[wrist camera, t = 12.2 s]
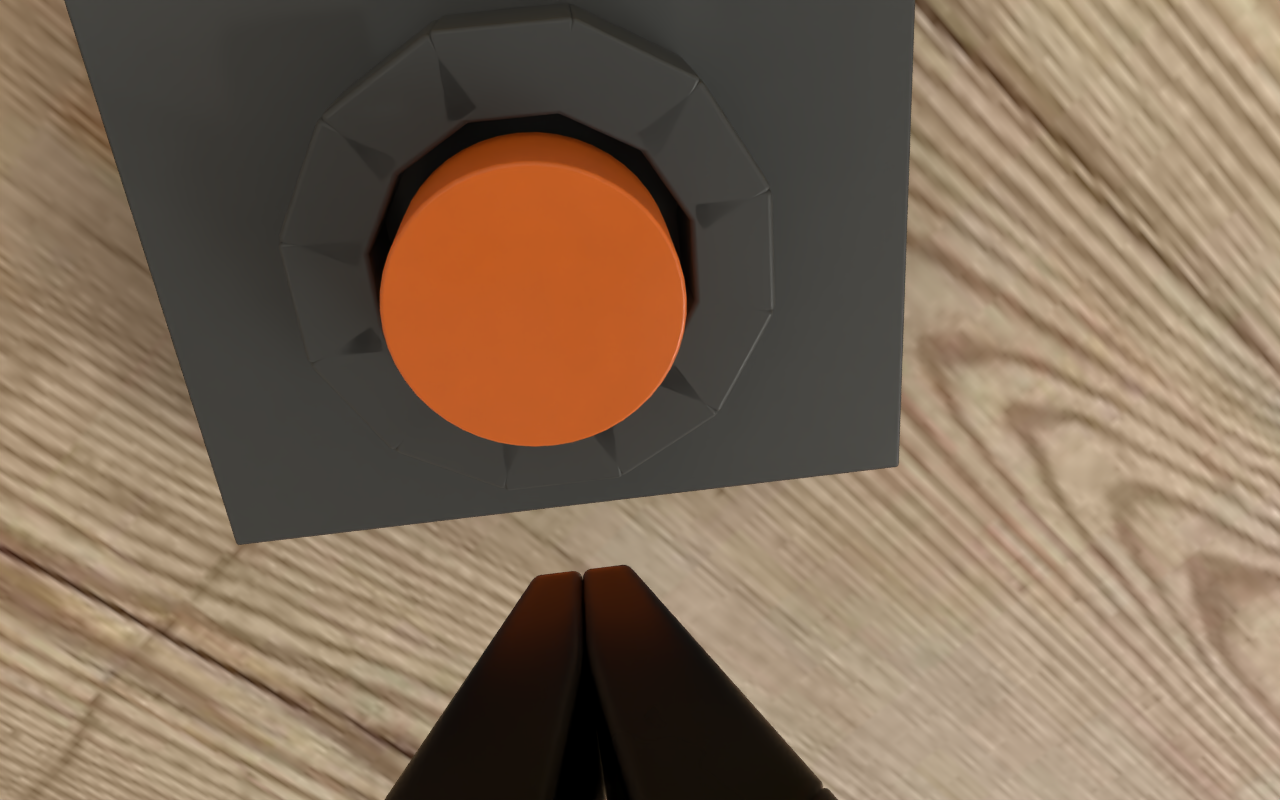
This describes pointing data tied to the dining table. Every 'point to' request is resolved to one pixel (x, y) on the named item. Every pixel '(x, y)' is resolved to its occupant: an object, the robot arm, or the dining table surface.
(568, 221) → the button
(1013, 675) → the dining table surface
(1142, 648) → the dining table surface
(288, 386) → the button box
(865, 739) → the dining table surface
